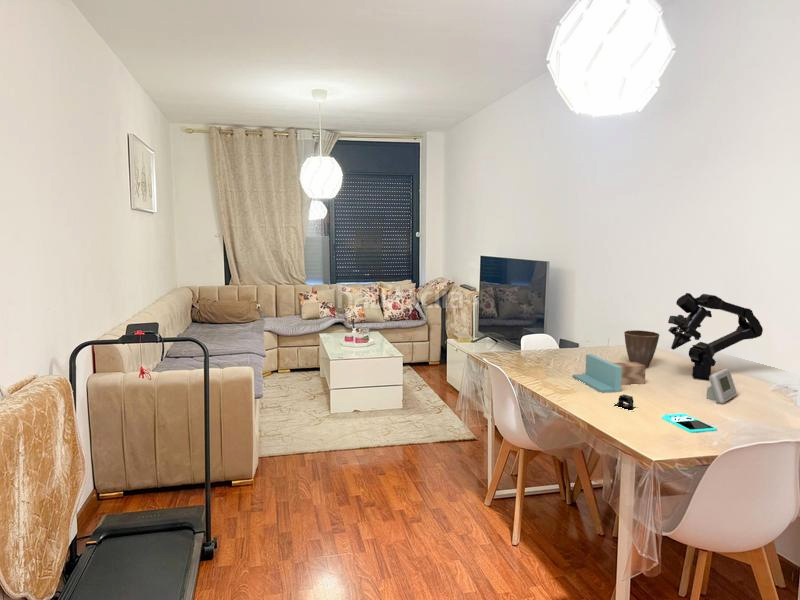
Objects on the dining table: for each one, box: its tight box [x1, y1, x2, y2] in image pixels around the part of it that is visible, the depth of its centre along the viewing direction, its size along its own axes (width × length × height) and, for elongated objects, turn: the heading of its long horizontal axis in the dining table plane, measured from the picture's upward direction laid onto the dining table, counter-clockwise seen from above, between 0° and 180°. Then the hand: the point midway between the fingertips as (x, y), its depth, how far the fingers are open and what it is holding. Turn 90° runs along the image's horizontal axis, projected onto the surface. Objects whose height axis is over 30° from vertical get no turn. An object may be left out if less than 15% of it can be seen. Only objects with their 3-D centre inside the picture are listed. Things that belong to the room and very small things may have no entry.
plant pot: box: [624, 329, 660, 369], centre depth 266 cm, size 15×15×16 cm
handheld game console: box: [661, 412, 718, 434], centre depth 190 cm, size 10×16×1 cm, turn 11°
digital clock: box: [705, 368, 738, 405], centre depth 216 cm, size 16×9×11 cm, turn 121°
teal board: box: [571, 353, 622, 394], centre depth 237 cm, size 8×24×10 cm, turn 10°
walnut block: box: [612, 361, 647, 386], centre depth 239 cm, size 16×7×8 cm, turn 100°
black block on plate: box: [613, 394, 636, 411], centre depth 208 cm, size 12×7×5 cm, turn 36°
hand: (672, 348), depth 242 cm, fingers closed
